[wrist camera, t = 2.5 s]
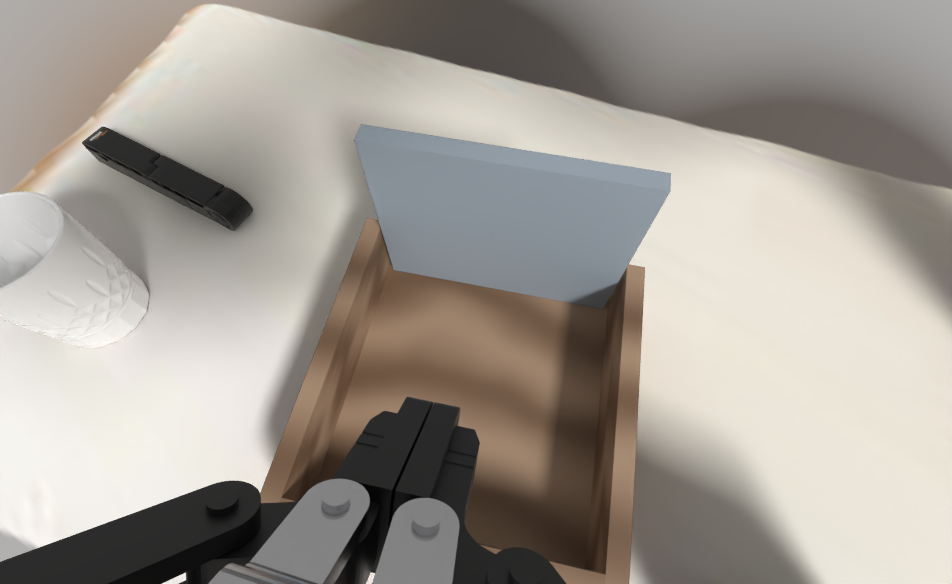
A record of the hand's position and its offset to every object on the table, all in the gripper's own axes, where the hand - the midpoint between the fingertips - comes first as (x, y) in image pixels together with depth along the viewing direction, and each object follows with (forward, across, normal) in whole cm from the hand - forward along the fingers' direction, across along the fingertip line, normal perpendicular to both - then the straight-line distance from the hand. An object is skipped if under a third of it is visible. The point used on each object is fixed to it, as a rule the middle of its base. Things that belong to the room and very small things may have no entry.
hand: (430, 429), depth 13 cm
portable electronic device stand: (+30, +32, +1) cm, 43 cm away
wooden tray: (+19, 0, +11) cm, 22 cm away
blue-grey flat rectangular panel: (+25, 0, +2) cm, 25 cm away
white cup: (+20, +31, +10) cm, 38 cm away
